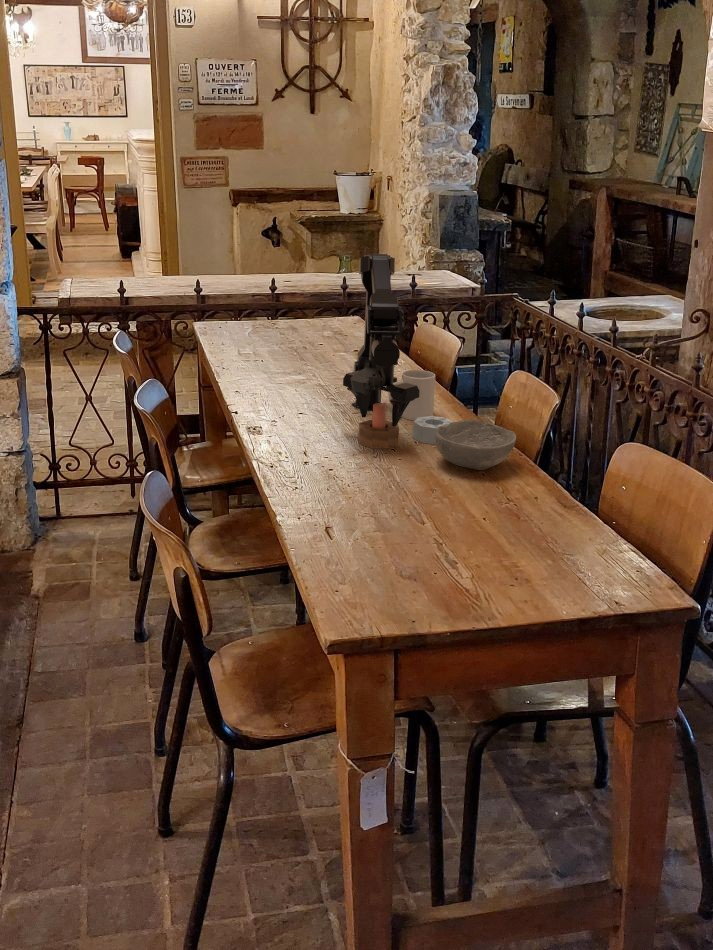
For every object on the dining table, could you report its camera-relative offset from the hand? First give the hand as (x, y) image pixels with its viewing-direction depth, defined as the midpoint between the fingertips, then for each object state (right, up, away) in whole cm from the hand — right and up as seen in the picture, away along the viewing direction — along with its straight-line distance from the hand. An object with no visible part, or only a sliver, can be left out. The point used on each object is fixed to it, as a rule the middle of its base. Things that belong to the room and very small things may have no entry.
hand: (379, 421), depth 239 cm
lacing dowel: (0, -5, +2) cm, 5 cm away
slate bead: (+13, -4, +6) cm, 15 cm away
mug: (+8, +2, +22) cm, 24 cm away
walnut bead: (0, -5, +2) cm, 5 cm away
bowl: (+21, -11, -11) cm, 26 cm away
